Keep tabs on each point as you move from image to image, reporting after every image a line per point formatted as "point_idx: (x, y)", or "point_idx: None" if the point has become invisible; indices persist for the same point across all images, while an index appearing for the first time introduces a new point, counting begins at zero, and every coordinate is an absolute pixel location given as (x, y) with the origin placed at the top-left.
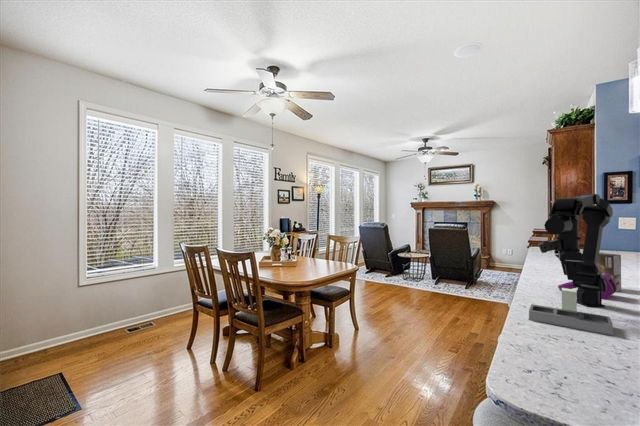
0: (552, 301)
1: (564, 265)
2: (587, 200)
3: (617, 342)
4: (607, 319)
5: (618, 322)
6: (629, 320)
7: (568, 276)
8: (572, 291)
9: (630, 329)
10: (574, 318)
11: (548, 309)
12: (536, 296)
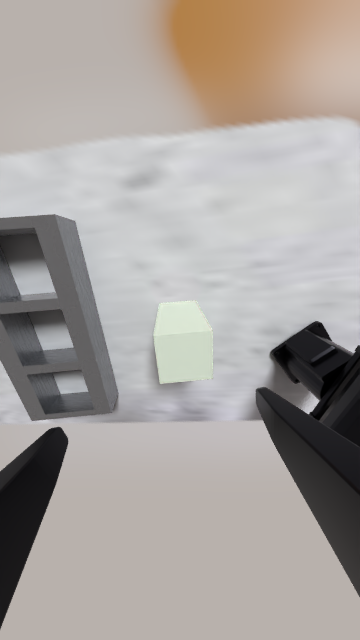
0: (286, 264)
1: (326, 480)
2: None
3: (11, 406)
4: (80, 410)
5: (166, 403)
6: (199, 415)
7: (22, 459)
8: (158, 371)
9: (129, 418)
10: (3, 357)
11: (55, 281)
12: (340, 200)
